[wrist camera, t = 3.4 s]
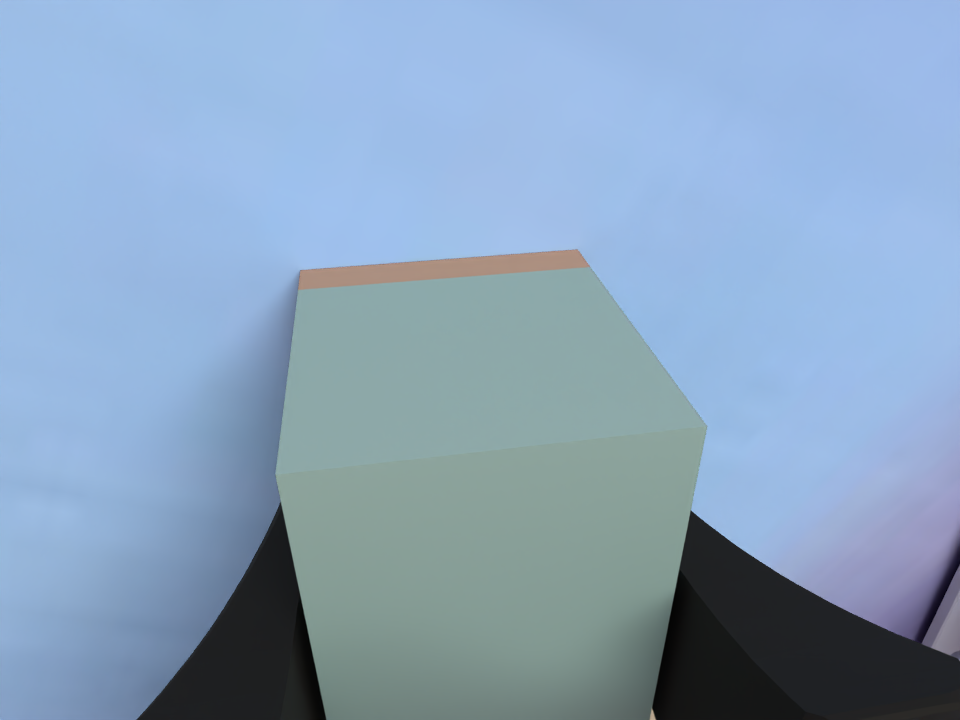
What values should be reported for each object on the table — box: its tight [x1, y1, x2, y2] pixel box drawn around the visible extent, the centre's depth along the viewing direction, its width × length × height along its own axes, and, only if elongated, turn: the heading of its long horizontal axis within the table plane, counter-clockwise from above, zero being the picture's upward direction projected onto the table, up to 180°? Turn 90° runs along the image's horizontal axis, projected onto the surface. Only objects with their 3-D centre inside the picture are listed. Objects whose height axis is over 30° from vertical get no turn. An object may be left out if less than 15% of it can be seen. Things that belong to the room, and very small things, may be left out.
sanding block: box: [275, 250, 707, 720], centre depth 13 cm, size 5×9×6 cm, turn 1°
